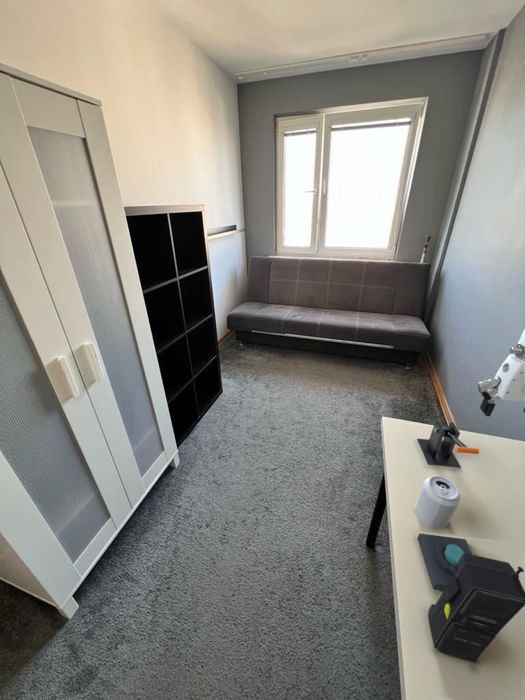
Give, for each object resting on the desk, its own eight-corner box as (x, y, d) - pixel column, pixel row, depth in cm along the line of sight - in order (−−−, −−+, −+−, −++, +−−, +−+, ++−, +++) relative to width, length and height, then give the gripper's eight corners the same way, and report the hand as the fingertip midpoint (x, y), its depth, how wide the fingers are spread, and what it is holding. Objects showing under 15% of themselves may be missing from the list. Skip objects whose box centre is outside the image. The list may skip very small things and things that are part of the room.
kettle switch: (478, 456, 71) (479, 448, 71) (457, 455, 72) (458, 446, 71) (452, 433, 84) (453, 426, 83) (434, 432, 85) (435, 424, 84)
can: (447, 510, 72) (462, 480, 66) (447, 537, 67) (463, 507, 61) (415, 496, 76) (426, 467, 70) (412, 521, 70) (424, 492, 64)
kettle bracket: (459, 469, 83) (472, 441, 77) (427, 466, 84) (437, 438, 78) (445, 443, 91) (456, 416, 85) (416, 441, 93) (425, 414, 87)
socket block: (462, 544, 65) (468, 534, 63) (485, 597, 57) (493, 588, 55) (417, 538, 67) (421, 529, 65) (433, 589, 58) (438, 580, 56)
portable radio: (428, 650, 50) (475, 589, 38) (420, 608, 56) (459, 542, 43) (477, 665, 49) (543, 605, 36) (464, 620, 54) (518, 554, 42)
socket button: (458, 549, 61) (461, 545, 60) (466, 568, 58) (469, 564, 57) (441, 546, 62) (443, 542, 61) (448, 565, 59) (450, 561, 58)
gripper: (503, 361, 58) (475, 422, 66) (600, 365, 55) (558, 428, 64) (484, 344, 64) (460, 401, 73) (569, 347, 62) (535, 406, 70)
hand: (506, 414), depth 68 cm, fingers open, 9 cm apart
